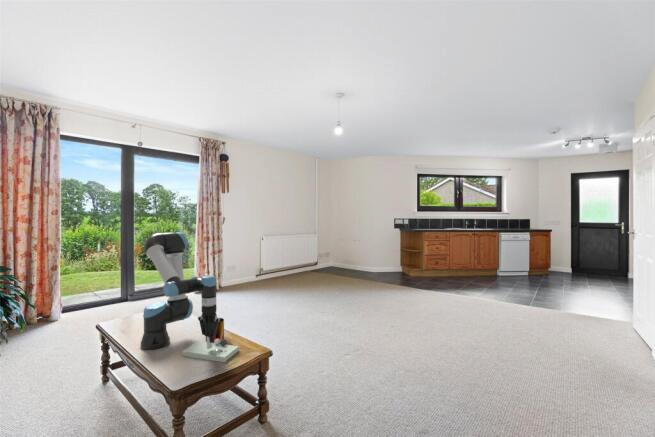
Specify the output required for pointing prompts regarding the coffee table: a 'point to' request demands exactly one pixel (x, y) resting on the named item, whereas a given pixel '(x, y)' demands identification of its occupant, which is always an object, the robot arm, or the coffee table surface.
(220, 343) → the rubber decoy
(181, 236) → the robot arm
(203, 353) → the board
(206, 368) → the coffee table surface
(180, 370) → the coffee table surface
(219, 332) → the mug
